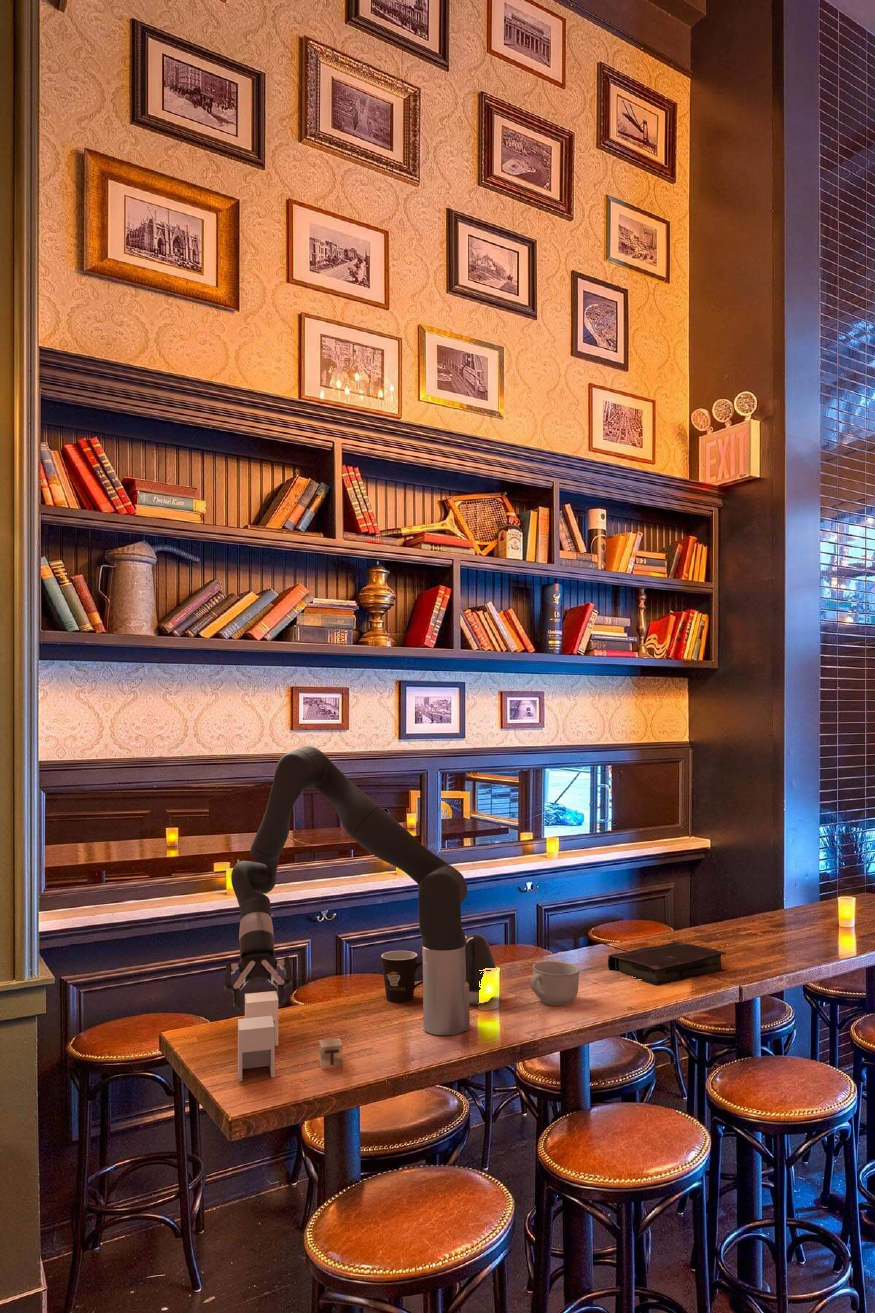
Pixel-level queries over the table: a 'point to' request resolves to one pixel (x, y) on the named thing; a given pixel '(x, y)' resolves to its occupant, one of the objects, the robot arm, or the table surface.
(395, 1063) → the table surface
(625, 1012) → the table surface
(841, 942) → the table surface
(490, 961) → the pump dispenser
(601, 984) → the table surface
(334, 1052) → the letter cube
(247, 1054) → the grey cover
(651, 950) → the diary
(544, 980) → the teacup
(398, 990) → the coffee mug
